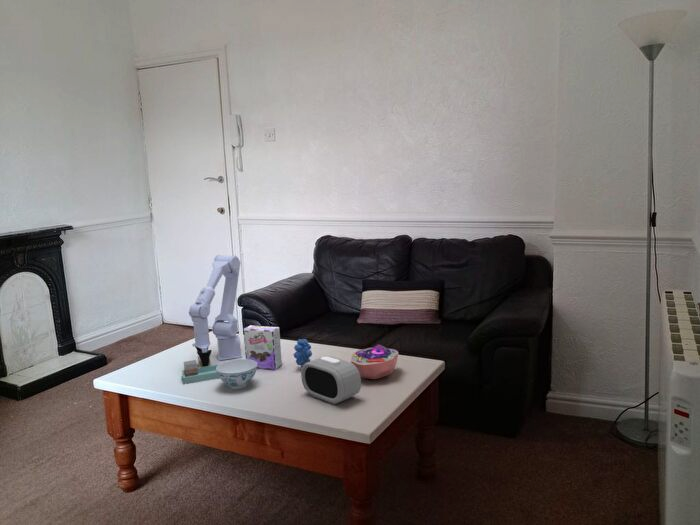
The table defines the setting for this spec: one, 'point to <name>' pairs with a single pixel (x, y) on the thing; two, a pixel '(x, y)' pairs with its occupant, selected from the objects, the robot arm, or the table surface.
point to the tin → (190, 368)
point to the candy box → (263, 346)
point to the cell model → (375, 361)
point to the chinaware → (237, 372)
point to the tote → (202, 374)
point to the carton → (201, 363)
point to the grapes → (302, 352)
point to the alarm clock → (331, 379)
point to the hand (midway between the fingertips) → (204, 364)
